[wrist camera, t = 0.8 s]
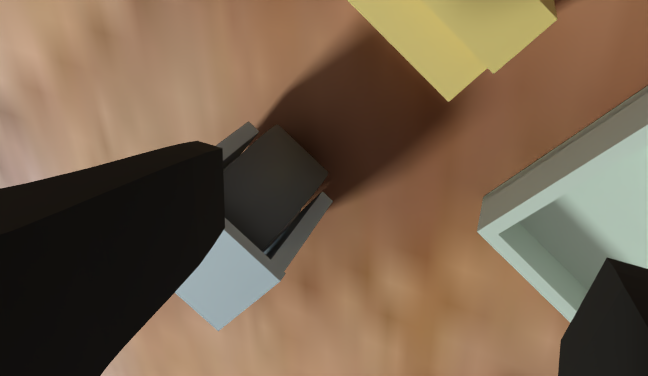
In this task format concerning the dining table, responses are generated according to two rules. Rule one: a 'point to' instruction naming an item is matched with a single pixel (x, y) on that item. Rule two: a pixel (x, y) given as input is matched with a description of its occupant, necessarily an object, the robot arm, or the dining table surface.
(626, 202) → the tray
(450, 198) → the dining table surface
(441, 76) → the block
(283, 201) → the castor
